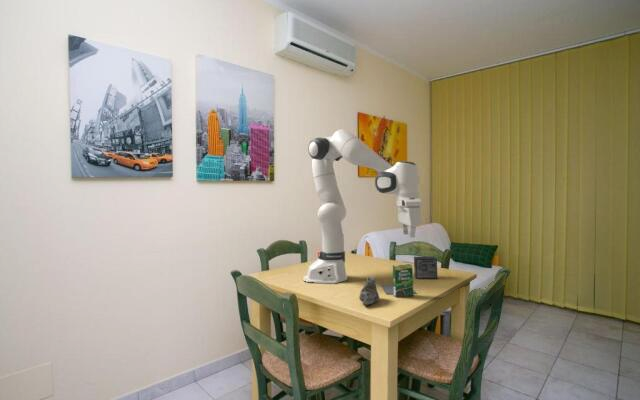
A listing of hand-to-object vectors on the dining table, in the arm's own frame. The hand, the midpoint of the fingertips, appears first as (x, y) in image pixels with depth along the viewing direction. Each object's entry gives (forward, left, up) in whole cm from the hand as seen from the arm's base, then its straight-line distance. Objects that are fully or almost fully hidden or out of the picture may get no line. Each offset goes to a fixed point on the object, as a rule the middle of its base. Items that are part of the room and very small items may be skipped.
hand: (408, 235), depth 137 cm
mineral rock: (-17, -1, -27) cm, 32 cm away
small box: (+18, +36, -27) cm, 48 cm away
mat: (-1, +16, -26) cm, 31 cm away
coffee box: (-1, +6, -27) cm, 27 cm away
